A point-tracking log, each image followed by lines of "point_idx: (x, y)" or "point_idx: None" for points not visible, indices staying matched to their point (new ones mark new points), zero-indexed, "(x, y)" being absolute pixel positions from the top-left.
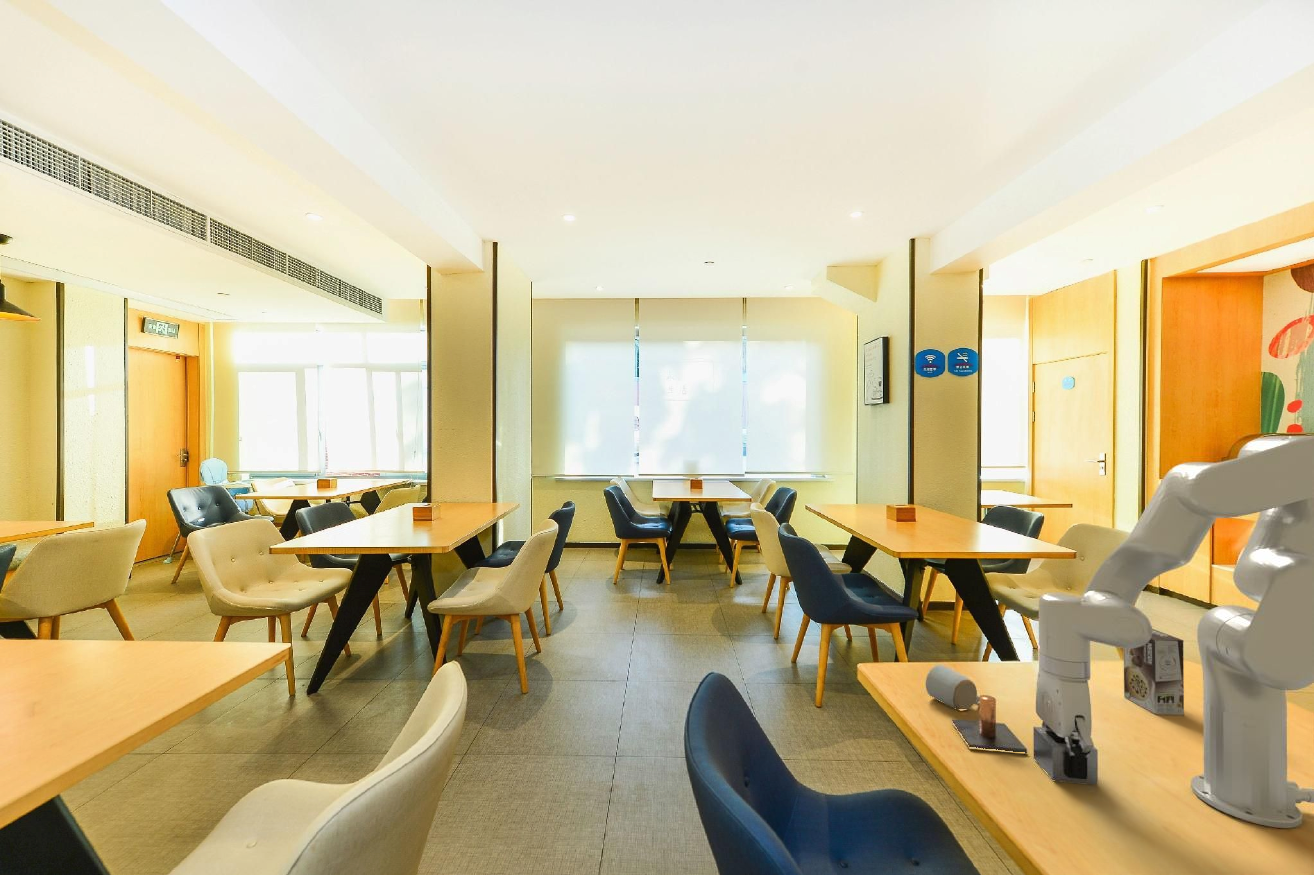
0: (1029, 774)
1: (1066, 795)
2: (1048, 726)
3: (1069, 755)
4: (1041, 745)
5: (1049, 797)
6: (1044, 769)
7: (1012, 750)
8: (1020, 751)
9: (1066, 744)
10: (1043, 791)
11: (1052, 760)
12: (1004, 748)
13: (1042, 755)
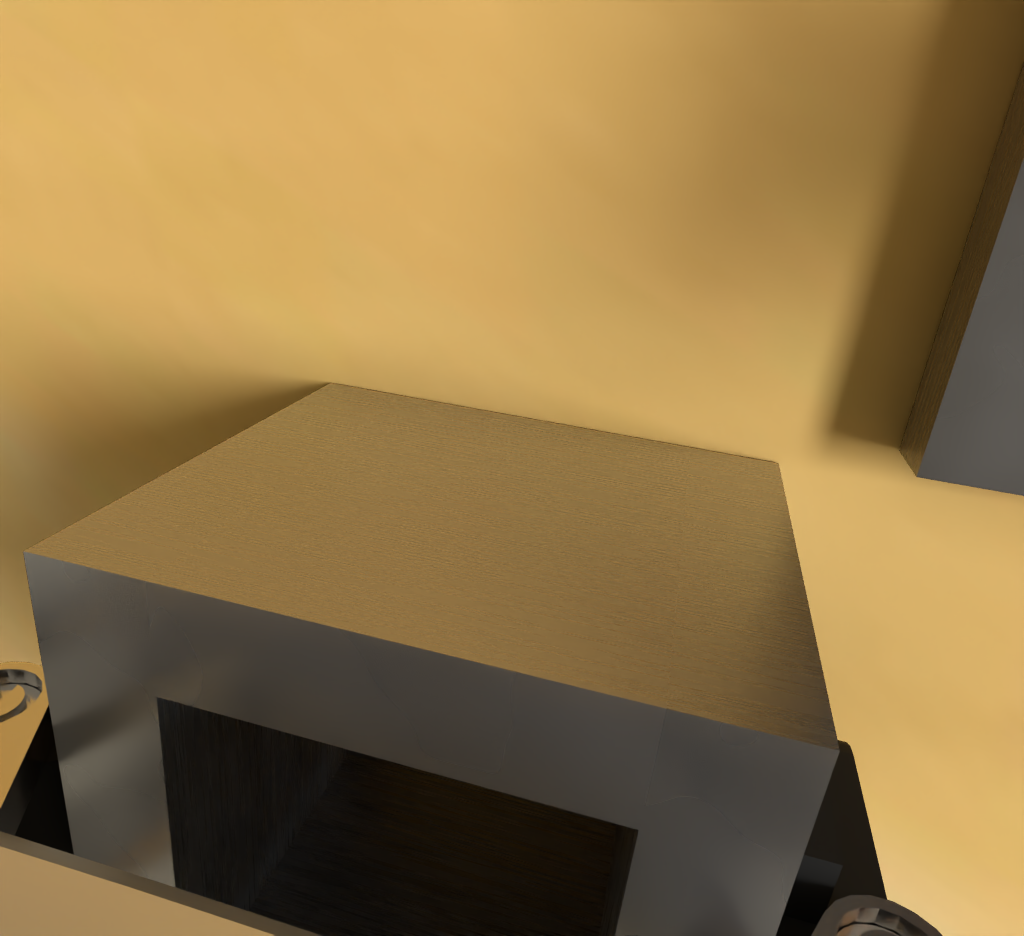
0: (435, 199)
1: (118, 359)
2: (165, 903)
3: (31, 666)
4: (502, 548)
5: (40, 162)
6: (495, 421)
7: (975, 273)
8: (932, 381)
9: (4, 778)
10: (128, 161)
11: (193, 458)
12: (1021, 144)
13: (504, 482)
